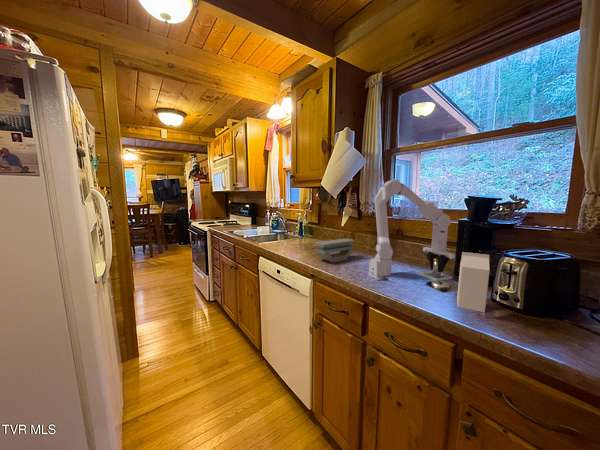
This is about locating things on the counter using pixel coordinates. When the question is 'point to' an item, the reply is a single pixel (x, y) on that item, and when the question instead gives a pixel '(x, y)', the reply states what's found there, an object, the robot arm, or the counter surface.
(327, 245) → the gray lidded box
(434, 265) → the lock pin
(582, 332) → the counter surface
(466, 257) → the milk carton
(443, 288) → the pulley deck
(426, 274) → the tray
